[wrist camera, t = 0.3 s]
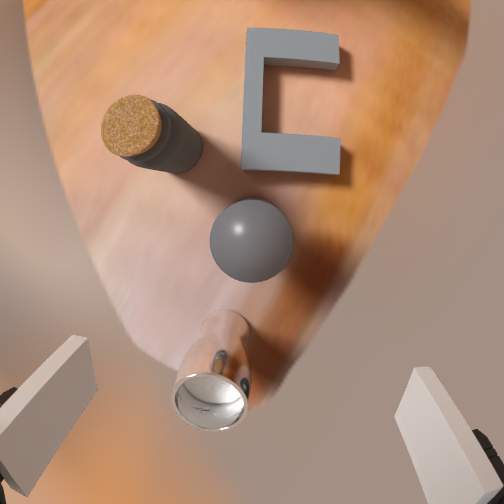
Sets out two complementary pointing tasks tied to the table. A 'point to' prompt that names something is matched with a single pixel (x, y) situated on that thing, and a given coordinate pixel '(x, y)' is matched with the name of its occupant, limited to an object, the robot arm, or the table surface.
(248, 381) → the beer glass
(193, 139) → the bottle
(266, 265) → the bobbin
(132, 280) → the table surface
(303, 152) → the notch board
